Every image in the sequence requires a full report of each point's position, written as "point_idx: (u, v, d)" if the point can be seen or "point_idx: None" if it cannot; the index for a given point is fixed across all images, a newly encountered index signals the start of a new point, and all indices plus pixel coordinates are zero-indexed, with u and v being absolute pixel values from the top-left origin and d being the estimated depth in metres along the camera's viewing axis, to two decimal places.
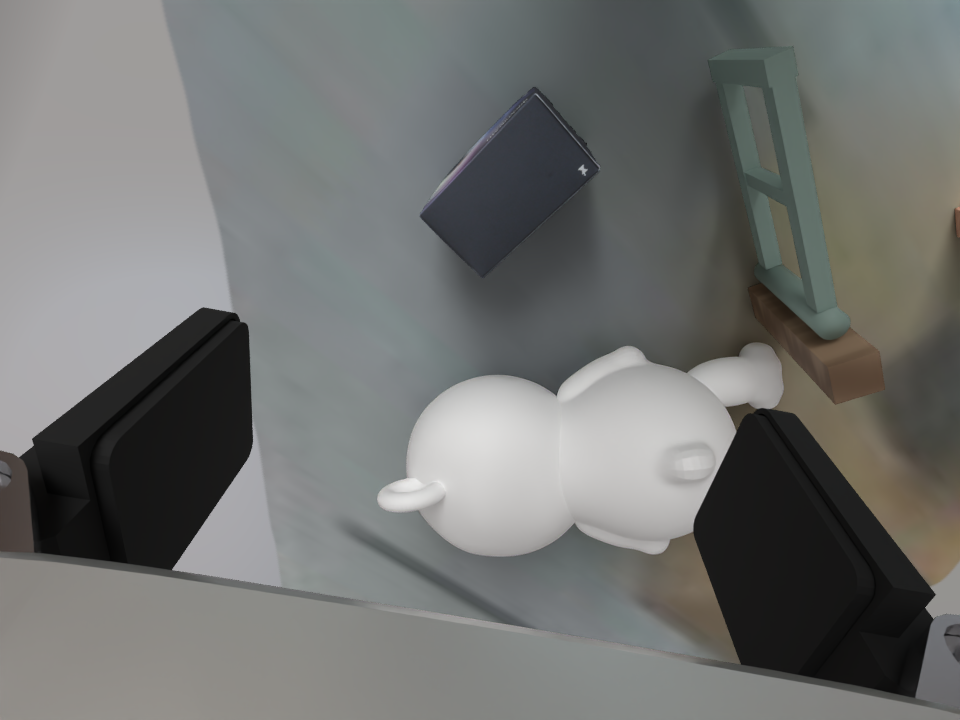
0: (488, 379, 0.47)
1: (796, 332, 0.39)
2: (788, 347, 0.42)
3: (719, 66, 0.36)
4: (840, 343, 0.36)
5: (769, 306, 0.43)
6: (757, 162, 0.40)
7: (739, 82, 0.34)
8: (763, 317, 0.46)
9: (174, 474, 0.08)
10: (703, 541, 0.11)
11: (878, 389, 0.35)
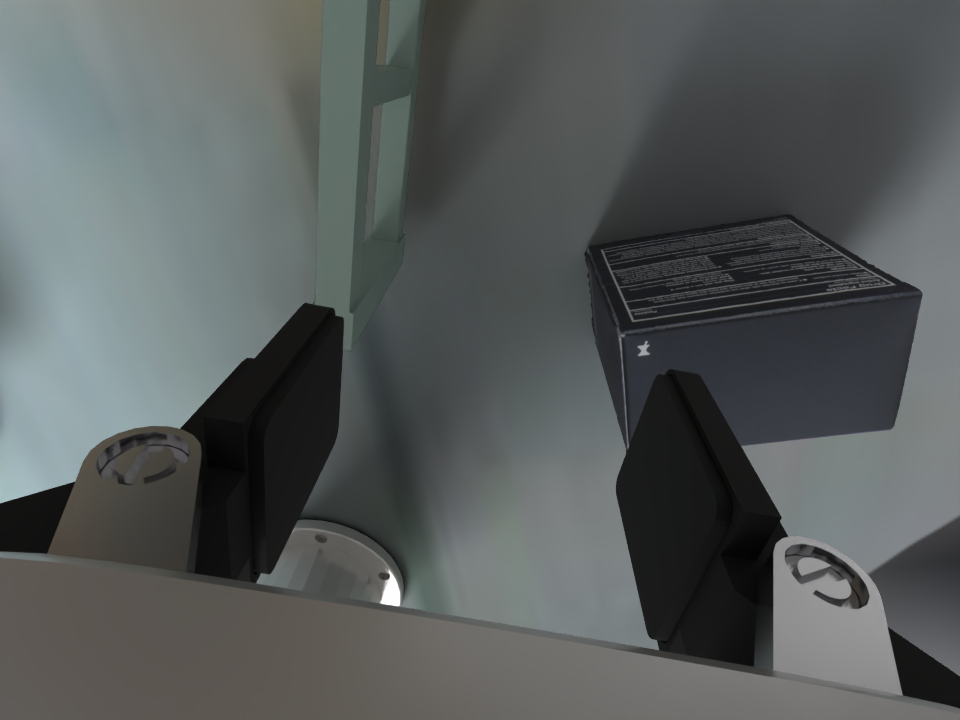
0: None
1: None
2: None
3: (394, 269, 0.27)
4: None
5: None
6: None
7: (382, 272, 0.23)
8: None
9: (295, 453, 0.09)
10: (622, 496, 0.11)
11: None
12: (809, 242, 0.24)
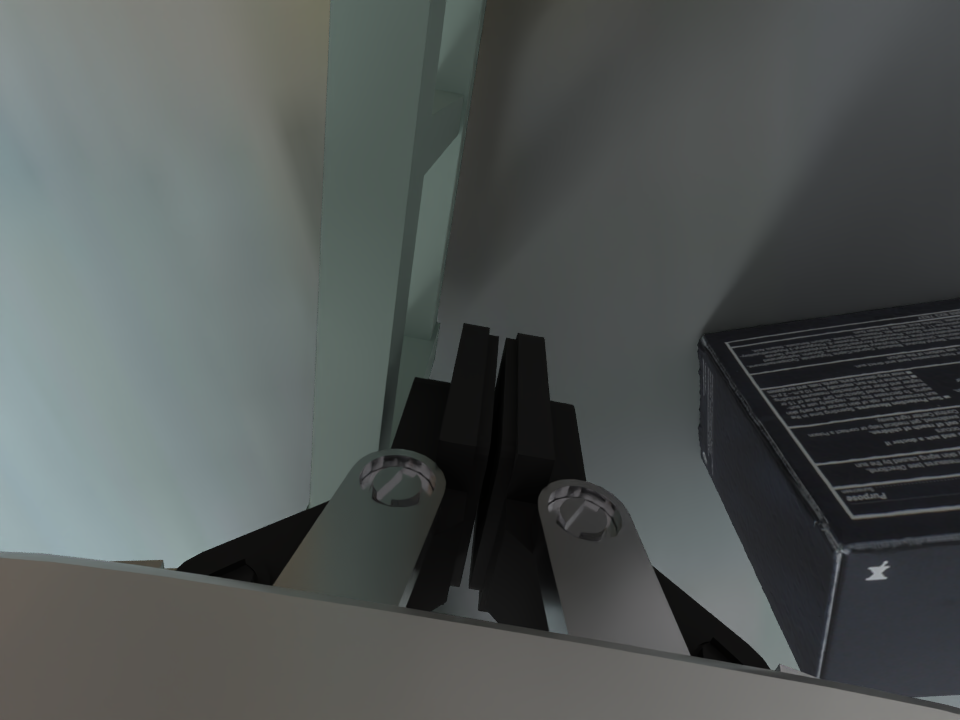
0: None
1: None
2: None
3: None
4: None
5: None
6: None
7: None
8: None
9: None
10: None
11: None
12: None
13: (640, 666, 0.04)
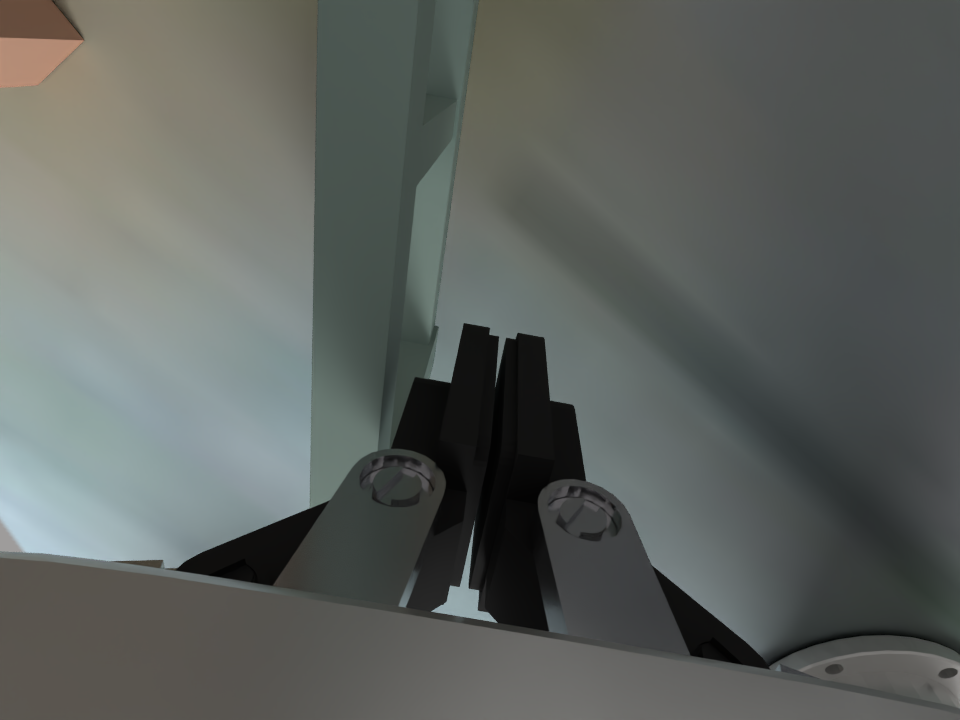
0: None
1: None
2: None
3: None
4: None
5: None
6: None
7: None
8: None
9: None
10: None
11: None
12: None
13: (640, 666, 0.04)
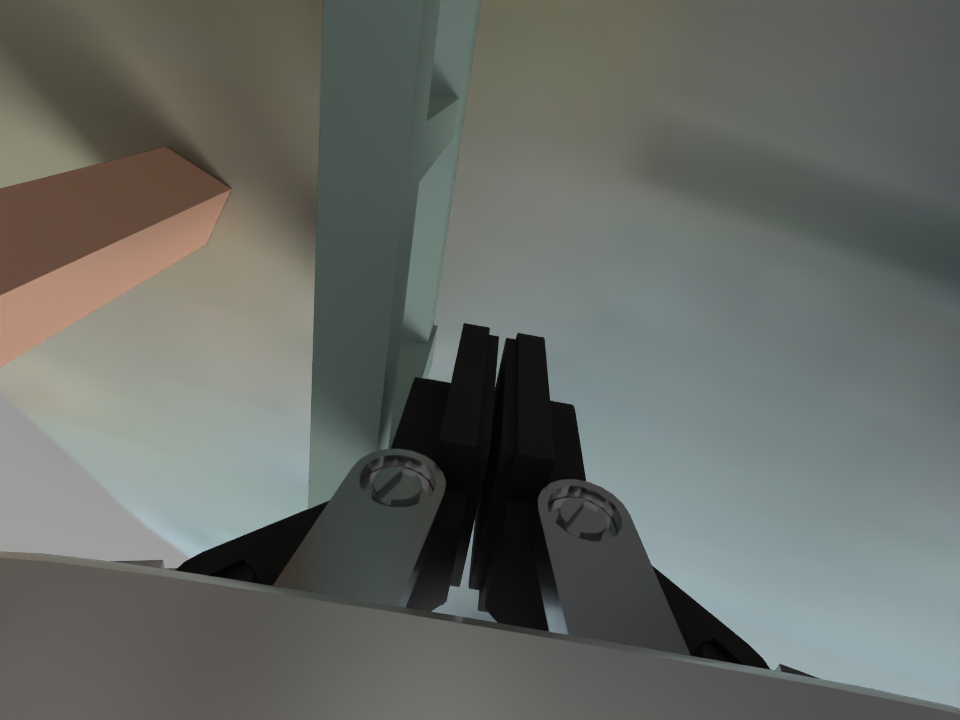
0: None
1: None
2: None
3: None
4: None
5: None
6: None
7: None
8: None
9: None
10: None
11: None
12: None
13: (640, 666, 0.04)
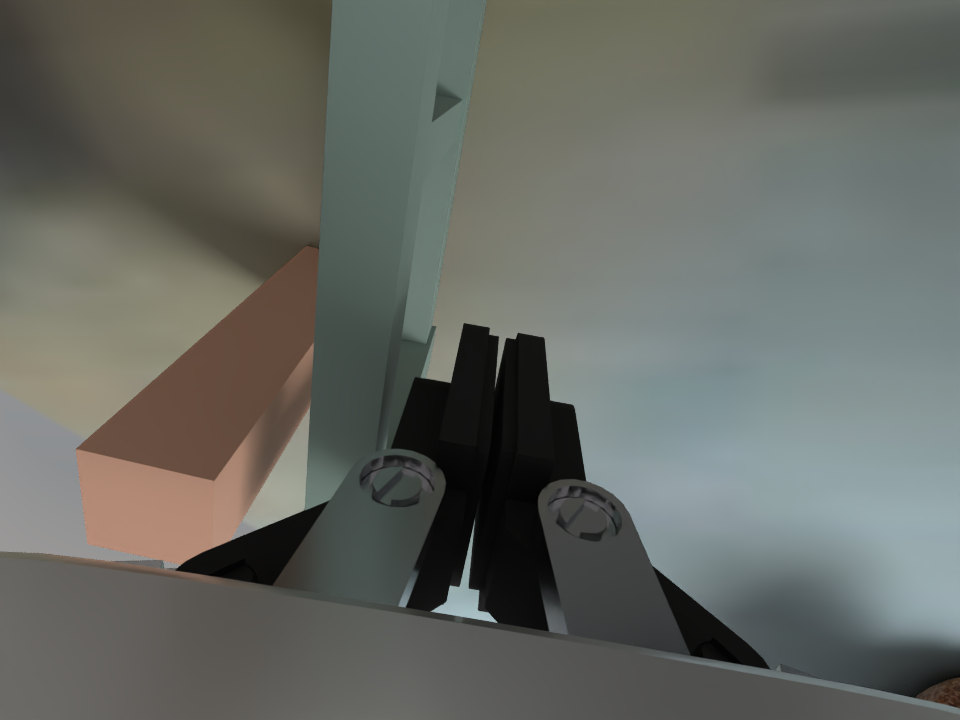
0: None
1: None
2: None
3: None
4: None
5: None
6: None
7: None
8: None
9: None
10: None
11: None
12: None
13: (640, 666, 0.04)
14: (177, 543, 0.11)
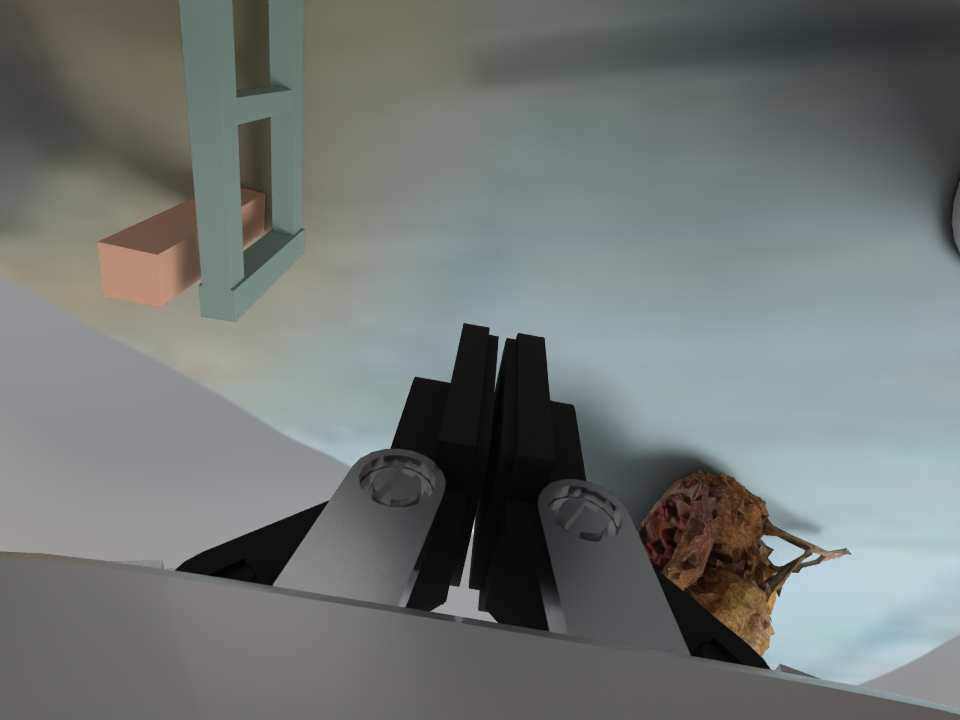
0: None
1: None
2: None
3: (291, 258, 0.31)
4: None
5: None
6: (273, 115, 0.28)
7: (272, 259, 0.28)
8: None
9: None
10: None
11: None
12: None
13: (640, 666, 0.04)
14: (144, 292, 0.23)
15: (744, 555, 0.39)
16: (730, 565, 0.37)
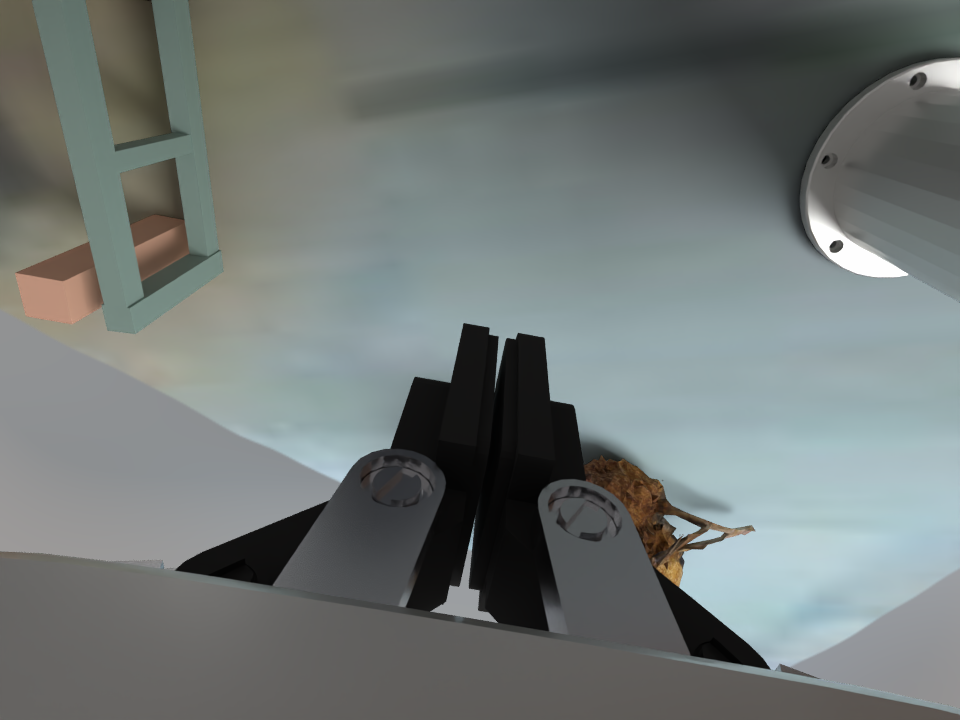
0: None
1: None
2: None
3: (206, 276, 0.36)
4: None
5: None
6: (177, 156, 0.33)
7: (178, 279, 0.33)
8: None
9: None
10: None
11: None
12: None
13: (640, 666, 0.04)
14: (57, 311, 0.29)
15: None
16: None
